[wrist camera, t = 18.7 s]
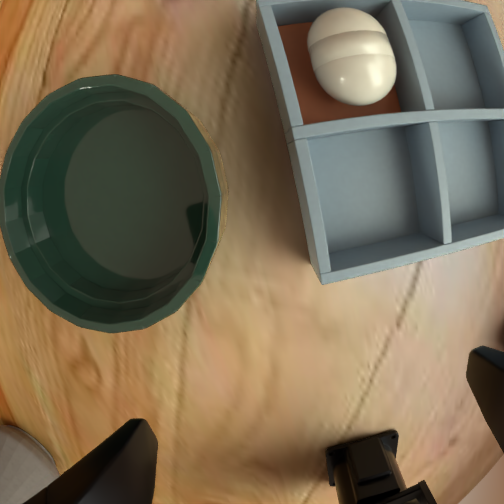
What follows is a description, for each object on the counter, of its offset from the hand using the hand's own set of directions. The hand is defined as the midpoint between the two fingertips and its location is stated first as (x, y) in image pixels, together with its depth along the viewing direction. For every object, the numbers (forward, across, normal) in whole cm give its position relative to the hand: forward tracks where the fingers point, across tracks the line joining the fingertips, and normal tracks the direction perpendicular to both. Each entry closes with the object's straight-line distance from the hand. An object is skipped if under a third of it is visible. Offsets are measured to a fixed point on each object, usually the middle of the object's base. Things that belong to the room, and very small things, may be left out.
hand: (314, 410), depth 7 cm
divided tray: (+12, -9, -7) cm, 16 cm away
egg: (+11, -5, -10) cm, 16 cm away
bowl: (+12, +9, -6) cm, 16 cm away
